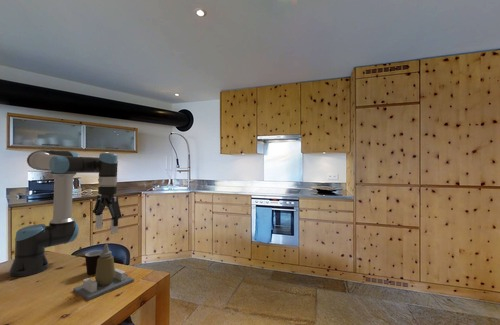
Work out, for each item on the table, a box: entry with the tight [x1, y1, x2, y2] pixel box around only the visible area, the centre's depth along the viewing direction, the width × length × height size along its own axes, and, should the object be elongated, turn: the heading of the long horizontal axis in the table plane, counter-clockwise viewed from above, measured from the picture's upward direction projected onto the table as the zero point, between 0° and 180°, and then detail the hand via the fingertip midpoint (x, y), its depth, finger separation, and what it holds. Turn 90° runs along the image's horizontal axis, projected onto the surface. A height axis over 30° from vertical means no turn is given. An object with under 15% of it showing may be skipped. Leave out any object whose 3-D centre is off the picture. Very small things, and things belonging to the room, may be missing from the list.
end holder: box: [72, 267, 135, 301], centre depth 111 cm, size 14×20×5 cm
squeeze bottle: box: [94, 243, 116, 286], centre depth 111 cm, size 8×8×18 cm
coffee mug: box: [84, 250, 103, 276], centre depth 126 cm, size 12×9×10 cm
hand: (106, 231), depth 111 cm, fingers open, 13 cm apart
